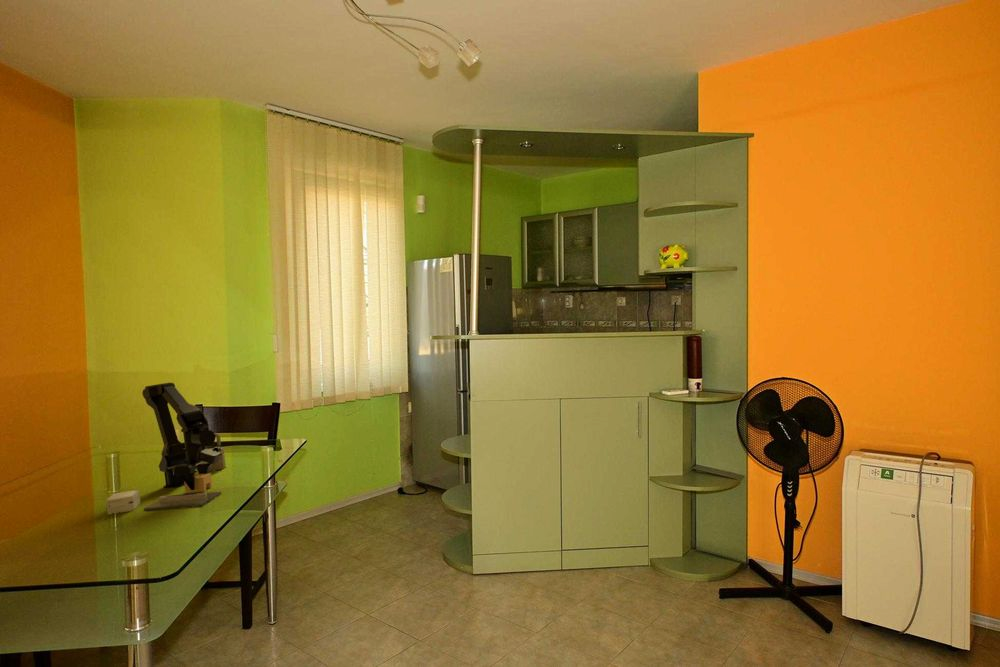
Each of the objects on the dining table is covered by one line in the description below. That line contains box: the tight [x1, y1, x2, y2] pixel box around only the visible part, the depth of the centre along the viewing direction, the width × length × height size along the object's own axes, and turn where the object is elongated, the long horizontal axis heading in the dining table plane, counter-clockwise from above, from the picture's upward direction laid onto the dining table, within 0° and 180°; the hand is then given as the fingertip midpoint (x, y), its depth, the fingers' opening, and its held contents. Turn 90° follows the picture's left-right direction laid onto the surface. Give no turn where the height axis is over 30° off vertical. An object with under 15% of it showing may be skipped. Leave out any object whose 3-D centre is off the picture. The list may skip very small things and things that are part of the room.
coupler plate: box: [143, 491, 222, 512], centre depth 195 cm, size 20×12×2 cm, turn 88°
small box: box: [105, 489, 141, 515], centre depth 194 cm, size 8×8×5 cm
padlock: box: [209, 432, 227, 472], centre depth 235 cm, size 4×8×15 cm, turn 98°
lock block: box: [184, 472, 213, 494], centre depth 208 cm, size 7×5×5 cm
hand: (198, 486), depth 208 cm, fingers open, 7 cm apart
